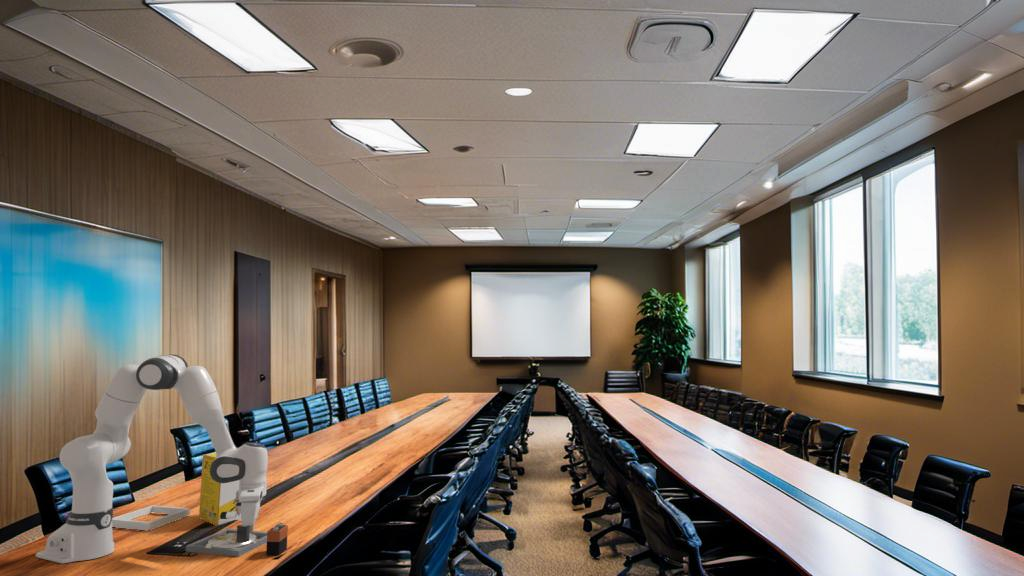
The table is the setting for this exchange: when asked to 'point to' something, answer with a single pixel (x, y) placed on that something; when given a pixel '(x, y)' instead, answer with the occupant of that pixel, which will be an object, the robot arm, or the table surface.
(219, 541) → the dial
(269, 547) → the battery
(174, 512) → the light grey rectangular frame
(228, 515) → the packaging box
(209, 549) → the panel
